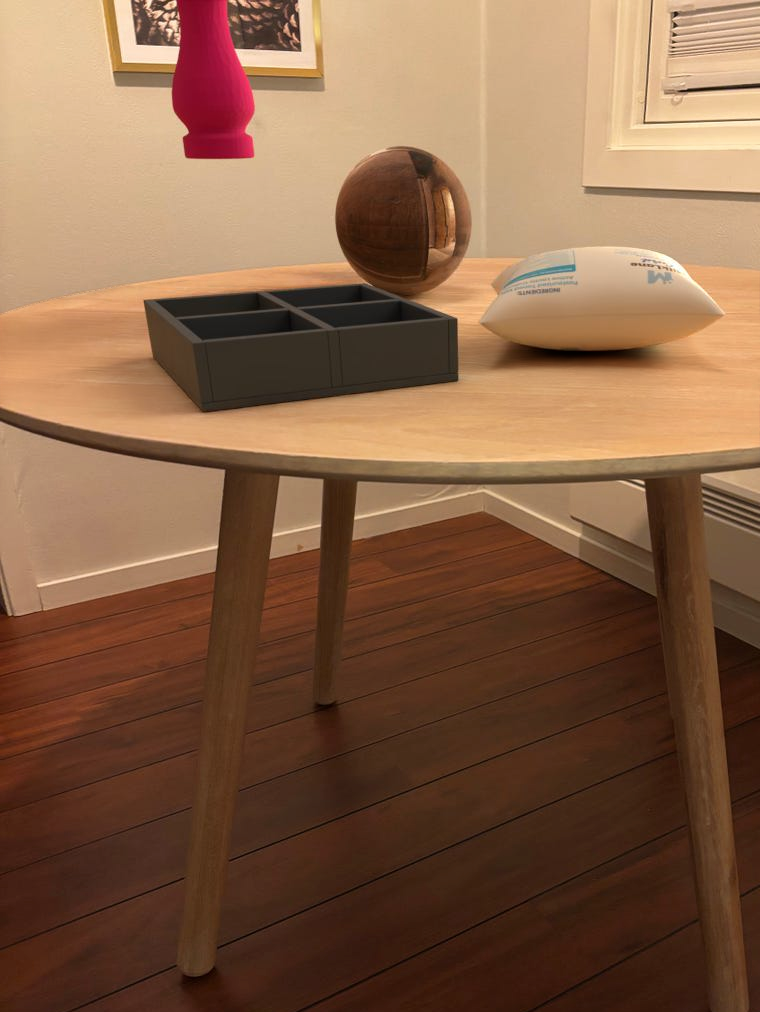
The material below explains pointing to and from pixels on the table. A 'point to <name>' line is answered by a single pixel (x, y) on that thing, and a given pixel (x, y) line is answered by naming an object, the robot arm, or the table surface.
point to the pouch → (597, 300)
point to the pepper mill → (211, 85)
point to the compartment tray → (299, 344)
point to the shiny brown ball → (403, 220)
